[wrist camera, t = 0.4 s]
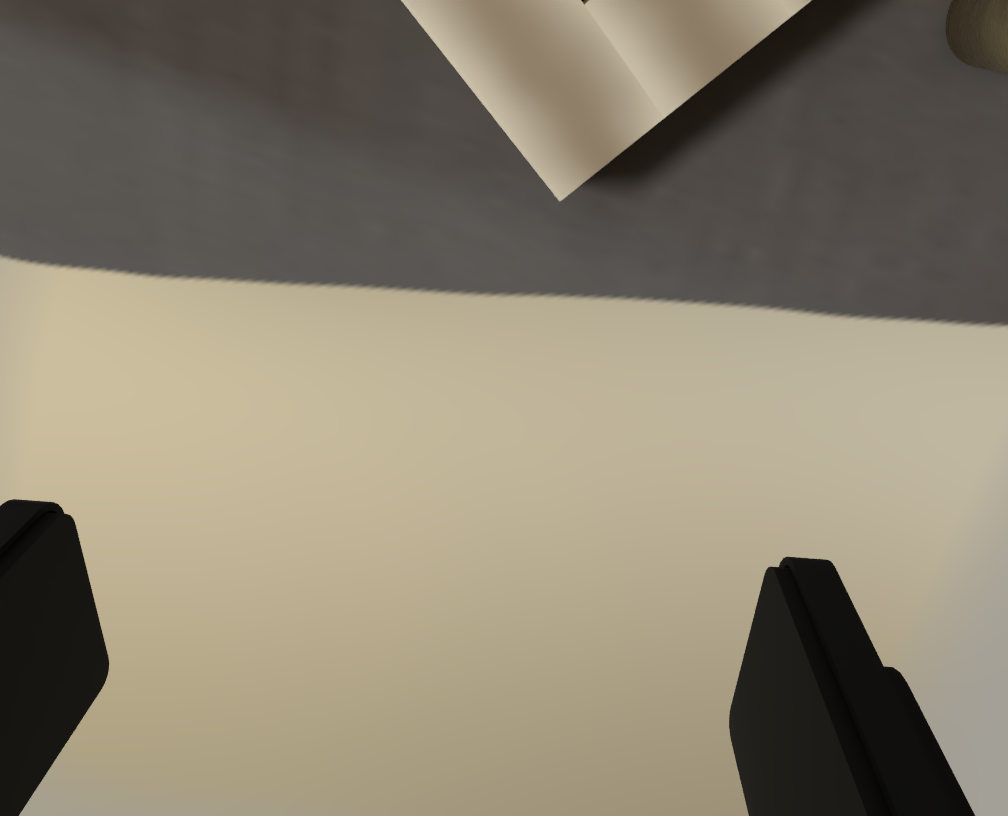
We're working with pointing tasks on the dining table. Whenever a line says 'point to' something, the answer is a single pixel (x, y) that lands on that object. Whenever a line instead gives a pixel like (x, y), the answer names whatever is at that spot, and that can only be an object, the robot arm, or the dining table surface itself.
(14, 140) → the dining table surface
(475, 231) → the dining table surface
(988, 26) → the brass pin
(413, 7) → the block
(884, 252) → the dining table surface
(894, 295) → the dining table surface
